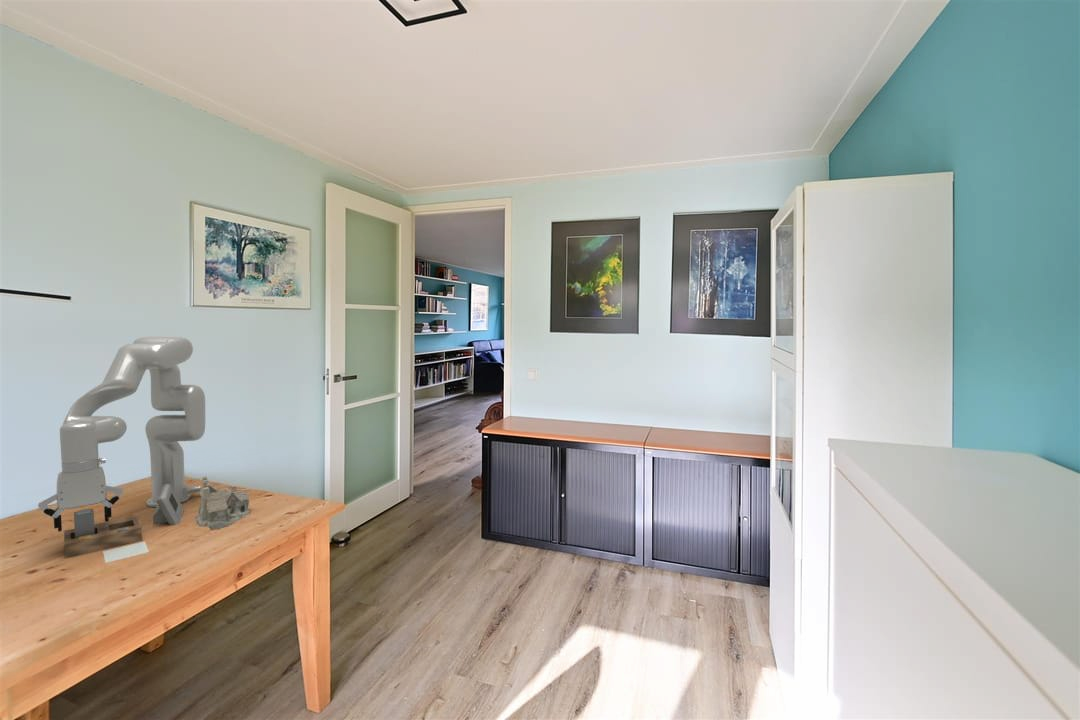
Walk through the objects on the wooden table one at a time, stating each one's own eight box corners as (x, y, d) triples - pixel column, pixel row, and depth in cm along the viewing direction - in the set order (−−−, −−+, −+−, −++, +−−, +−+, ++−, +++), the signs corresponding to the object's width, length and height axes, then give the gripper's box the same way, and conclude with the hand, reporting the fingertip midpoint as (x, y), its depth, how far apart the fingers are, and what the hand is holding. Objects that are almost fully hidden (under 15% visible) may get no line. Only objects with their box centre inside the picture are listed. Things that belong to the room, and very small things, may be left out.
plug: (94, 542, 139) (93, 507, 138) (95, 546, 136) (93, 511, 135) (75, 546, 136) (73, 510, 135) (75, 551, 133) (73, 515, 132)
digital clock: (178, 528, 151) (176, 495, 150) (142, 533, 148) (141, 499, 147) (193, 510, 166) (192, 480, 165) (161, 513, 163) (160, 483, 162)
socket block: (137, 531, 149) (136, 514, 148) (142, 544, 140) (141, 526, 140) (65, 547, 137) (64, 529, 137) (65, 562, 129) (64, 543, 128)
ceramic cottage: (193, 533, 148) (195, 484, 148) (194, 517, 161) (196, 473, 161) (252, 525, 157) (254, 479, 157) (248, 510, 170) (250, 468, 170)
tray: (145, 545, 139) (144, 541, 139) (149, 556, 133) (148, 552, 133) (103, 555, 133) (103, 551, 133) (105, 567, 127) (105, 562, 127)
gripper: (120, 457, 143) (123, 513, 144) (36, 469, 131) (40, 529, 132) (122, 462, 138) (125, 520, 139) (35, 475, 125) (39, 538, 127)
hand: (83, 525), depth 135 cm, fingers open, 9 cm apart
